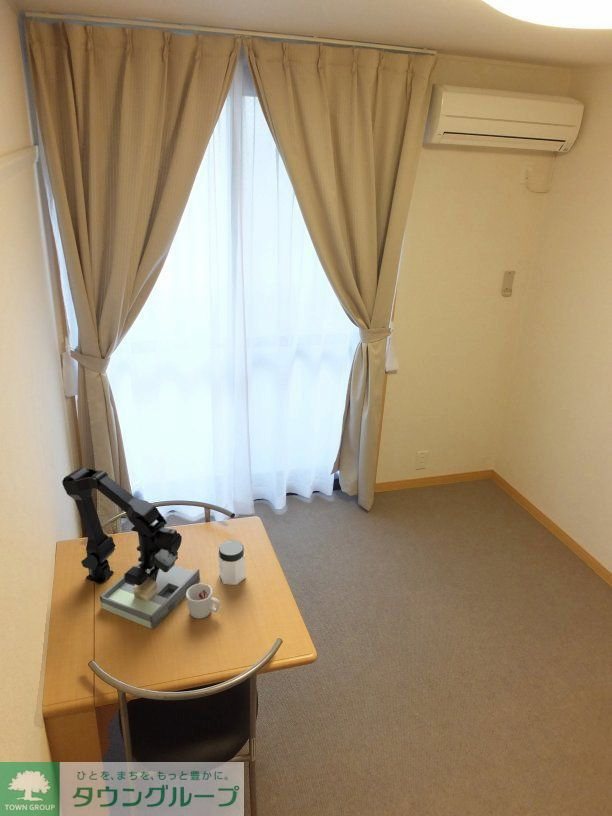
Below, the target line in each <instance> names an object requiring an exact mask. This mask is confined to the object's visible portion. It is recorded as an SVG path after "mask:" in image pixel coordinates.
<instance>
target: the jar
mask: <svg viewBox="0 0 612 816" xmlns="http://www.w3.org/2000/svg"><path fill="white" fill-rule="evenodd" d="M218 571H219V572H218V574H219V578H220V579H221V582H222V584H225V585H233V586H237V585H238V584H239V583H240V582H242V581H243V580H244V579H246V555H245V548H244V544H243V543H242V542H241V541H238V540H233V539H232V540H231V539H230V540H227V541H224V542H222V543H221V544H220V545H219V547H218Z"/></svg>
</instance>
